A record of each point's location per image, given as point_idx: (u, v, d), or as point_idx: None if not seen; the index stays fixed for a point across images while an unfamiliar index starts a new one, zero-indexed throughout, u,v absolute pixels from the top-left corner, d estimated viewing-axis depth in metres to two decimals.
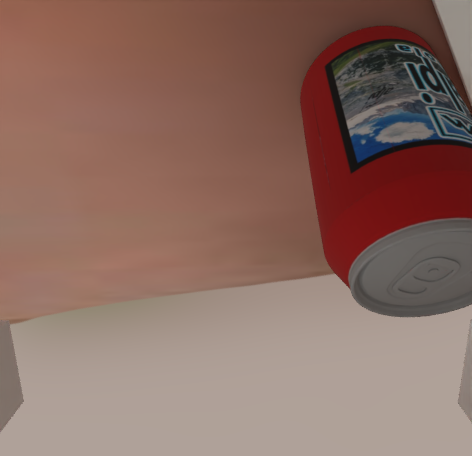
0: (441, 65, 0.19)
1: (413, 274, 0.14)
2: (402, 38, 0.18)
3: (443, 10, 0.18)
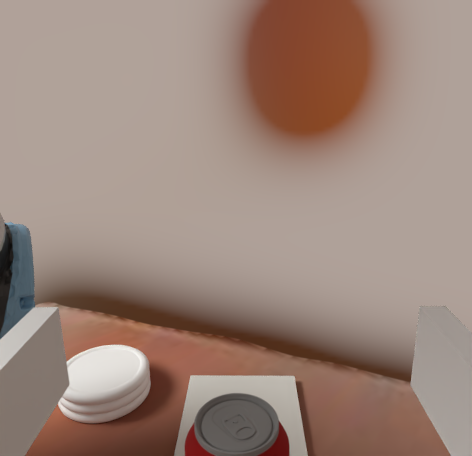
0: None
1: (230, 427, 0.27)
2: None
3: None
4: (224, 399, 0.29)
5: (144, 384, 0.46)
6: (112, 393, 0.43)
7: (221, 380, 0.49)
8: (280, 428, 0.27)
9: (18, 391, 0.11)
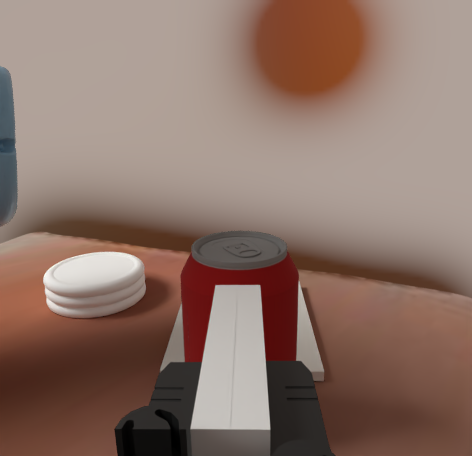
0: None
1: (232, 250, 0.24)
2: None
3: None
4: (225, 236, 0.26)
5: (138, 283, 0.43)
6: (103, 285, 0.40)
7: None
8: (288, 254, 0.24)
9: None
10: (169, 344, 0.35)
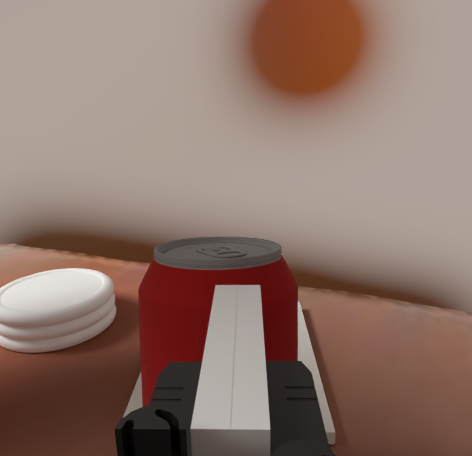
0: None
1: (208, 252, 0.18)
2: None
3: None
4: (202, 243, 0.20)
5: (105, 307, 0.36)
6: (59, 312, 0.33)
7: None
8: (283, 259, 0.18)
9: None
10: (134, 391, 0.27)
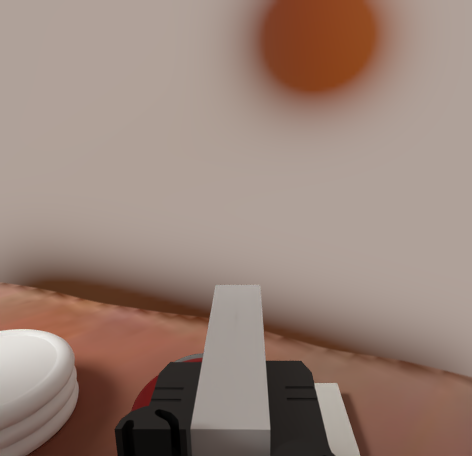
0: None
1: None
2: None
3: None
4: None
5: (58, 400, 0.25)
6: None
7: None
8: None
9: None
10: None
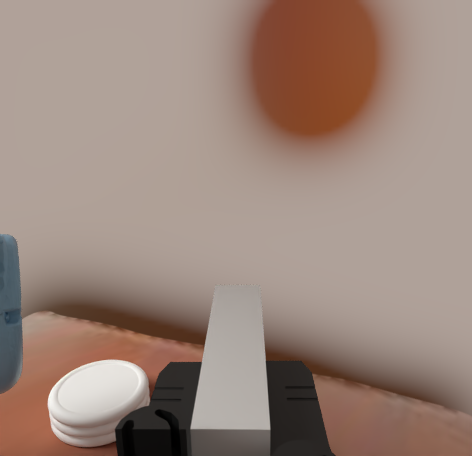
0: None
1: None
2: None
3: None
4: None
5: (142, 404, 0.43)
6: (107, 415, 0.40)
7: None
8: None
9: None
10: None
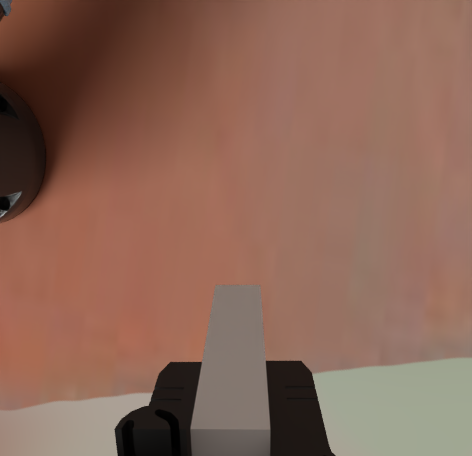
0: None
1: None
2: None
3: None
4: None
5: None
6: None
7: None
8: None
9: None
10: None
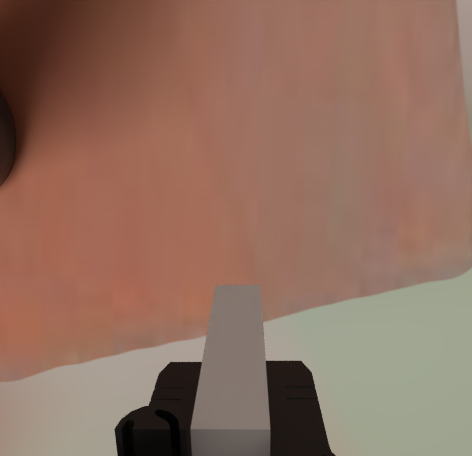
0: None
1: None
2: None
3: None
4: None
5: None
6: None
7: None
8: None
9: None
10: None
